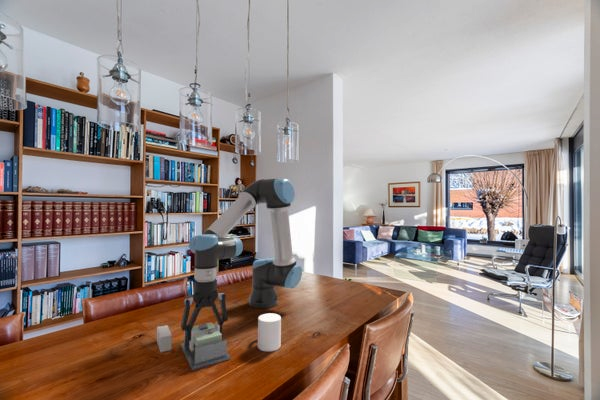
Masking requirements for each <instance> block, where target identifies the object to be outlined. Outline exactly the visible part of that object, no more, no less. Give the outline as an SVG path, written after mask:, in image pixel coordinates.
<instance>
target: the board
mask: <svg viewBox="0 0 600 400" xmlns="http://www.w3.org/2000/svg"><path fill="white" fill-rule="evenodd" d="M192 329H193V330H194V344H195V345H196V347H198V346H202V345H206V344H210V343H214V342H218V341H221V340H223V337H222V336H223V334H222V333H220V332H219V331H218V329H217V328H216V327H215V324H214V323H213V322H212V321H211V322H206V323H202V324H197V325H193V328H192Z"/></svg>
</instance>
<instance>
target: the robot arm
mask: <svg viewBox="0 0 600 400" xmlns="http://www.w3.org/2000/svg"><path fill="white" fill-rule="evenodd" d="M295 193H296V192H295V188H294V185H293V184H292V182H291V181H290V180H289V179H287V178H280V177H278V178H266V179H265V178H264V179H263V178H262V179H257V180H256V181H253V182H252V183H250V184H249V185H247V186H246V187H245V188H244V189H242V190H241V191H240V193H239V194H238V196H237V198H236V199H235V201H233V202H232V203H231V204H230V206H229V207H228V208H227V209H226V210H225V211H223V213H221V215H219V217H218V218H216V220H215V221H214V222H213V223H211V225H210V226H209V227H208V228H207V229H206V230H204V232H203V233H201V234H197V235H194V236H192V237H191V238H190V239H189V242H188V248H189V250H190V252H192V254H194V276H193V278H194V281H193V282H194V283H193V295H192V297H188V298H186V297H185V298H184V299H183V302H184V303H183V304H184V309H183V315H182V318H181V323H180V329H181V331H183V332H184V331H187V340H188V341H190V345H189V348H190V350H191V351H194V330H193V329H192V328H193V326H195V322H196V320H197V318H198V315H199V313H200V312H201V310H202V309H203V308H209V307H210V309H211V310H212V312H213V314H214V317H215V319H216V322H215V324H214V326H215V327H216V328H217V329H218V331H219V332H220V333H221V334H222V333H223V326H224V323H225V322H228V321H229V319H228V313H227V312H228V311H227V307H226V306H227V305H226V297H227V296H226V295H227V294H225V293H224V292H218V279H217V278H218V261H219V260H226V259H230V258H231V259H232V258H235V257H239V255H241V254H242V252H243V250H244V249H243V248H244V245H243V241H242V240H241V239H240V238H239V237H237V236H230V237H226V236H227V235H228V234H229V233H230V232H231V230H233V228H234V227H235V226H236V225H237V224H238V223H239V222H240V221H241V219H242V218H243V217H244V216H246V214H247V213H248V212H249V211H250V210H251V209H254V208H255V207H256V206H257V205H260V204H266V209H267V210H268V211H269V212H270V213H269V214H270V222H271V232H272V238H273V239H272V240H273V248H274V249H273V250H274V257H275V258H274V257H266V258H260V259H256V260H254V261H253V263H252V268H251V269H252V286H251V287H252V288H251V289H252V290H251V292H250V295H249V297H248V306H250V307H251V308H256V309H269V308H273V307H276V306H278V304H279V297H278V293H277V291H276V287H280V288H284V289H295V288H296V287H297V286H298V285H300V281H301V279H302V275H303V268H302V266H301V265H300V264H297V259H296V257H295V256H293V245H292V237H291V235H292V234H291V225H290V217H289V216H290V215H289V214H290V213H289V208H290V207H291V206H292V204H291V203H293V201H294V200H295V196H296V195H295ZM217 298H218V300H219V306H220V311H221V315H220V312H219V311H218V308H217V305H216V301H217ZM193 302H194V303H195V305H194V309H193V311H192V313H191V316H190V318H189V315H190V311H191V310H190V309H191V305H192V304H193Z"/></svg>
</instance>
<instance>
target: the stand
mask: <svg viewBox="0 0 600 400" xmlns="http://www.w3.org/2000/svg"><path fill="white" fill-rule="evenodd" d="M172 337H173V336H172V332H171V331H170V328H169V326H168V324H166V325H161V326H157V327H156V344H157V345H158V349H159V351H160V353H163V352H167V351H171V350H172V342H173V341H172Z"/></svg>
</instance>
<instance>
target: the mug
mask: <svg viewBox="0 0 600 400" xmlns="http://www.w3.org/2000/svg"><path fill="white" fill-rule="evenodd" d="M281 337H282V317H281V315H280V314H277V313H275V312H274V313H273V312H272V313H271V312H268V313H263V314H260V315H259V316H258V317H257V348H258V349H259V350H260V351H262V352H275V351H278V350H279V349H280V348H281V345H282V343H281V342H282V338H281Z"/></svg>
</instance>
